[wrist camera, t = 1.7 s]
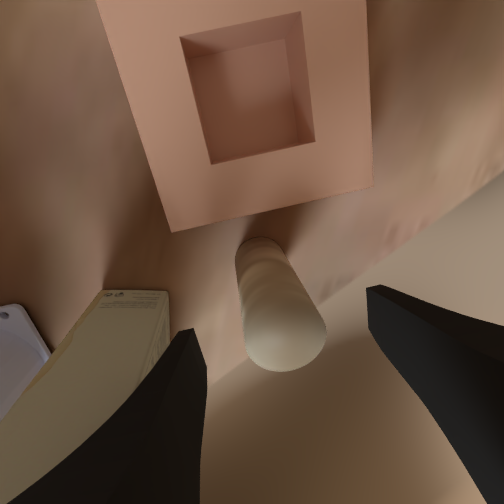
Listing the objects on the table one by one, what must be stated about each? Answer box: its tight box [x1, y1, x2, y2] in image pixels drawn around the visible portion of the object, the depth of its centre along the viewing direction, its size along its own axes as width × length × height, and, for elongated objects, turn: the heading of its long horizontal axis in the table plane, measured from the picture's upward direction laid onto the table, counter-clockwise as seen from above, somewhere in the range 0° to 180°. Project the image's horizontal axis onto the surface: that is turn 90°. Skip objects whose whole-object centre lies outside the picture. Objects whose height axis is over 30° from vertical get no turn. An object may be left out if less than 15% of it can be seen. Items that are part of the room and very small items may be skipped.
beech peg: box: [235, 237, 326, 371], centre depth 15 cm, size 3×3×8 cm
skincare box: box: [0, 290, 170, 504], centre depth 14 cm, size 6×4×12 cm
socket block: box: [96, 0, 374, 233], centre depth 13 cm, size 10×10×4 cm
